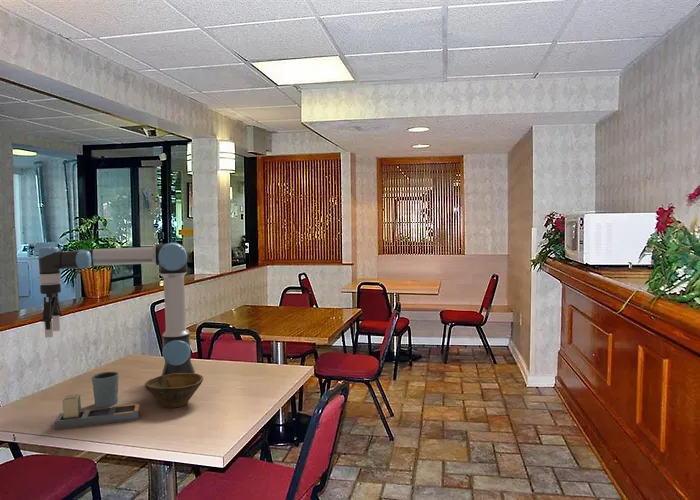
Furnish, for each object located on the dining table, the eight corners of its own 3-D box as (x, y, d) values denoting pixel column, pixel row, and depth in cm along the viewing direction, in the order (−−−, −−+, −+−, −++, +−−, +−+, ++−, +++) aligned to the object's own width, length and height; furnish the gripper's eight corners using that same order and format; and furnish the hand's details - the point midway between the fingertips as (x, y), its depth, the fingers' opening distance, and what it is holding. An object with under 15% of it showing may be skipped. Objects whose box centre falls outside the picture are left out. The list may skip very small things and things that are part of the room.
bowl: (186, 391, 232) (185, 368, 231) (213, 403, 216) (212, 379, 215) (136, 404, 217) (135, 380, 216) (161, 418, 200) (160, 392, 200)
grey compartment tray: (140, 411, 208) (139, 403, 208) (138, 419, 199) (137, 411, 199) (60, 421, 200) (59, 412, 199) (54, 429, 191) (54, 421, 191)
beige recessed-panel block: (81, 420, 200) (80, 393, 199) (78, 425, 195) (77, 397, 195) (66, 422, 198) (65, 394, 198) (63, 427, 194) (62, 399, 193)
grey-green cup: (93, 409, 212) (91, 379, 211) (92, 402, 221) (91, 373, 220) (120, 404, 216) (119, 375, 216) (119, 397, 225) (117, 369, 225)
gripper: (47, 281, 233) (50, 329, 234) (32, 287, 209) (35, 340, 211) (66, 280, 235) (68, 327, 237) (53, 286, 212) (56, 339, 213)
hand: (53, 333), depth 224 cm, fingers open, 13 cm apart
